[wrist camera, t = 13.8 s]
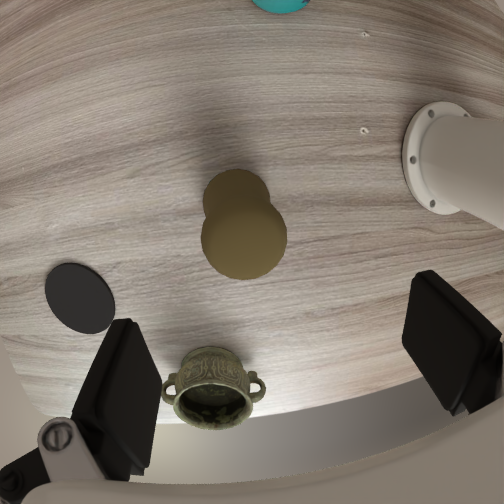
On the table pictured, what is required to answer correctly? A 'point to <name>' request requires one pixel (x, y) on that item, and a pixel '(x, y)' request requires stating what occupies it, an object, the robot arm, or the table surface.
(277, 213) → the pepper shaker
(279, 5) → the beverage can
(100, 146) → the table surface
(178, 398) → the vessel
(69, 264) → the coaster
